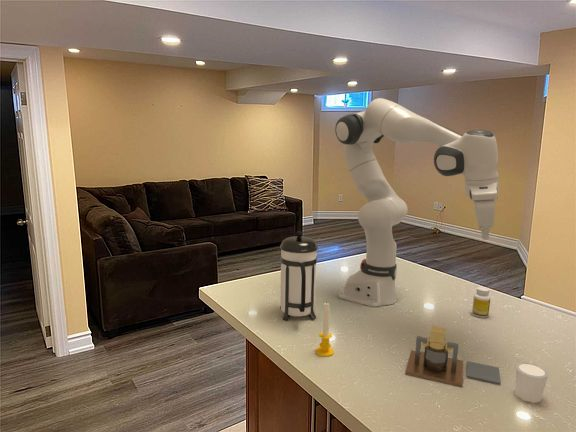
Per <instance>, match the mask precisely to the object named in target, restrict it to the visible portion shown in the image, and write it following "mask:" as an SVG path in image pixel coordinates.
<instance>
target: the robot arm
mask: <svg viewBox="0 0 576 432" xmlns="http://www.w3.org/2000/svg"><path fill="white" fill-rule="evenodd" d="M335 135H336V138H337V140H338V141H339V143H341V144H343V145H344V146H343V155H344V159H345V163H346V165H347V168H348V170H349V171H348V172H349V173H350V176H351V178H352V180H353V183H354V186H355V188H356V189H357V191H358V192H359V193H360V194H361V195H363V196H364V197H365V198H366V200H367V201H368V202H366V203H365V204H364V205H362V206H361V207H360V208H359V210H358V213H357V220H358V223H359V225H360V227H362V229H363V231H364V234H365V239H366V240H365V241H366V256H365V257H366V258H363V259H362V260H361V263H360V265H359V266H360V268H359V269H360V270H358V271H356V272H355V273H353V274H352V275H350V276H349V277H348V278H347V279H346V282H345V285H344V286H343V287H341V288H340V290H339V291H338V293H337V294H338V297H339V299H341V300H345V301H350V302H353V303H357V304H361V305H366V306H369V307H373V308H377V307H380V306H381V307H382V306H389V305H393V304H395V303H396V302H398V296H397V295H398V294H397V290H396V289H397V288H396V278H397V273H398V272H397V271H398V270H397V263H396V262H397V249H398V248H397V242H396V241H395V239H394V236H393V226H396V225H399V224H400V223H401V222H402V221H403V220H405V218H406V217H407V216H408V212H409V209H408V208H409V207H408V205H407V203H406V202H405V200H403V199H402V198H401V197H400V196H398V194H397V192H395V190H394V189H393V187H392V186H391V185H390V183H389V182H388V180H387V179H386V177H385V175H384V173H383V170H382V168H381V165H380V164H379V161H378V159H377V157H376V155H375V152H374V150H373V144H379V143H380V142H381V140H382V139H383V138H384V137H385V138H387V139H388V140H390V141H393V142H395V143H400V144H409V143H429V144H432V145H435V146H437V147H438V148H437V149H436V151H435V152H434V155H433V165H434V167H435V170H436V171H437V173H439V174H440V175H441V176H443V177H453V176H457V175H463V176H464V191H465V192H464V193H465V195H466V196H468V197H469V199H470V201H471V202H472V204H473V210H474V215H475V217H476V221H477V224H478V228H479V230H480V233H481V235H480V236H481V239H482V240H483V241H485V240H489V239H490V228H494V225H495V215H496V213H495V212H496V200H497V199H498V197H499V196H498V195H499V193H500V179H499V178H500V175H499V172H498V163H499V151H498V142H497V139H496V136H495V134H494V133H493V132H492V131H490V130H485V129H473V130H468V131H466V132H465V133H463V134H461V133H459V132H456V131H454V130H452V129H451V128H448V127H446V126H444V125H442V124H439V123H437V122H434V121H432V120H430V119H428V118H426V117H424V116H421V115H419V114H418V113H415V112H414V111H412V110H409V109H408V108H406V107H404V106H403V105H401V104H398V103H396V102H394V101H392V100H389V99H386V98H383V97H380V98H379V97H378V98H375V99H373V100H372V101H371V102H369V103H368V105H367V107H366V109H365V110H362V111H358V112H355V113H350V114H345V115H344V116H342V117H340V118H339V119H338V120H337V121H336V123H335Z"/></svg>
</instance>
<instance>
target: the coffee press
mask: <svg viewBox="0 0 576 432" xmlns="http://www.w3.org/2000/svg"><path fill="white" fill-rule="evenodd" d="M295 235H296V236H289V237H286V238H285V239H282V241H281V243H280V245H279V249H280V254H281V255H280V306H279V309H280V311H282V313H284V314H283V316H282V321H285V322H288V321H289V320H290V318H291V317H305V316H307V317H309V319H310V320H311V321H314V320H316V319H317V316H316V314H315V309H316V284H317V283H316V282H317V281H316V280H317V263H318V256H317V252H318V249H319V245H317V243H316V241H315V240H314V239H313V238H311V237H308V236H303V232H302V231H301V230H297V231H296V233H295Z"/></svg>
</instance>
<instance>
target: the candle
mask: <svg viewBox="0 0 576 432" xmlns="http://www.w3.org/2000/svg"><path fill="white" fill-rule="evenodd" d="M322 312H323V316H322V331H321V332H320V333H319V334H318V337H320V338H321V339H320V340H321V342H320V343H319V347H317V348H315V353H316V354H317V356H320V357H324V358H326V357H327V358H329V357H331V356H333V355H334V353H335V350H334V349H333V347H331V346H332V345H331V343H330V339H331V338H332V337H333V333H331V332H329V331H330V330H329V328H330V327H329V326H330V303H328V302H327V301H326V302H325V303H323V311H322Z"/></svg>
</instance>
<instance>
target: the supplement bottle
mask: <svg viewBox="0 0 576 432" xmlns="http://www.w3.org/2000/svg"><path fill="white" fill-rule="evenodd" d="M489 294H490V289H489V288H488V287H484V286H478V287H476V292H475V293H474V295H473V300H472V309H471V314H472V315H473V316H474V317H476V318H481V319H486V318H489V314H490V305H491V300H492V299H491V295H489Z"/></svg>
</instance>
